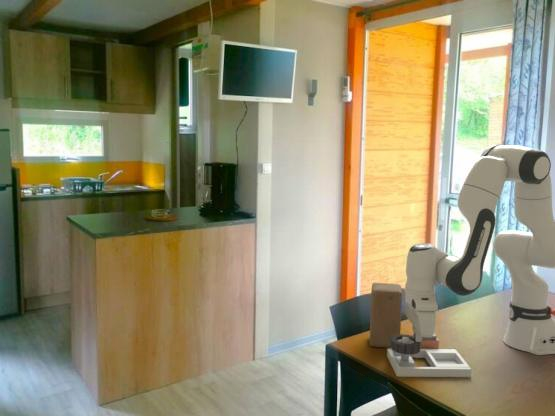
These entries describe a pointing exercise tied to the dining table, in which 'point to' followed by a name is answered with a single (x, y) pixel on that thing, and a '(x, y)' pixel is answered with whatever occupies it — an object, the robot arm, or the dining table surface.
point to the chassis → (438, 359)
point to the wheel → (405, 345)
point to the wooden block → (385, 313)
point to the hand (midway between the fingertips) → (417, 340)
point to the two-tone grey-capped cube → (430, 342)
